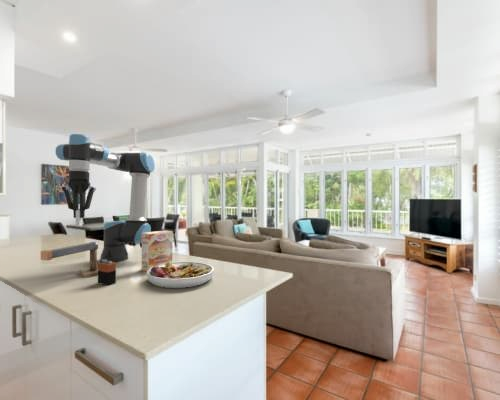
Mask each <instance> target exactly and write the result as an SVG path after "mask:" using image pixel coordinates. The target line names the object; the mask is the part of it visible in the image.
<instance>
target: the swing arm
mask: <svg viewBox="0 0 500 400" xmlns="http://www.w3.org/2000/svg"><path fill="white" fill-rule="evenodd" d="M93 249H97V250H98V249H99V241H91V242H85V243H81V244H76V245H71V246H64V247H60V248H54V249H46V250H45V249H44V250H41V251H40V260H41V261H51V260H53V259H56V258H60V257H61V258H62V257H65V256H69V255H75V254H79V253H82V252H83V253H84V252H88V251H90V250H93Z"/></svg>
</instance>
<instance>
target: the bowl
mask: <svg viewBox="0 0 500 400" xmlns="http://www.w3.org/2000/svg"><path fill="white" fill-rule="evenodd" d="M214 272H215V270H214V266H213V265H210V264H207V263H204V262H196V261H175V262H172V263H166V264H161V265H157V266H154V267H152V268H150V269H149V270H148V271H146V277H147V279H148V281H149V282H150V283H151V284H152V285H154V286H156V287H159V288H164V287H165V288H166V289H186V287H188V288H192V287H193V286H194V287H197V285H198V286H200V285H201V286H202V285H203V284H205V283H207V282H208V281H209V280H211V279H212V278H213V275H214Z"/></svg>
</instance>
